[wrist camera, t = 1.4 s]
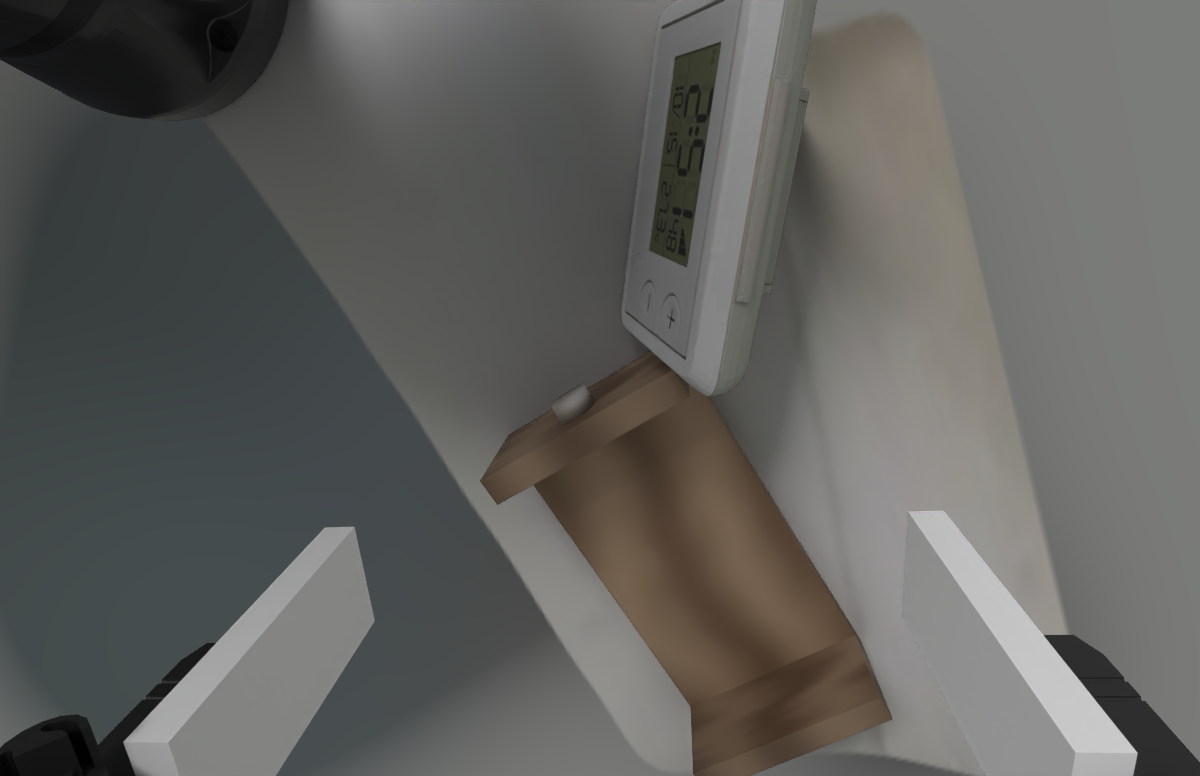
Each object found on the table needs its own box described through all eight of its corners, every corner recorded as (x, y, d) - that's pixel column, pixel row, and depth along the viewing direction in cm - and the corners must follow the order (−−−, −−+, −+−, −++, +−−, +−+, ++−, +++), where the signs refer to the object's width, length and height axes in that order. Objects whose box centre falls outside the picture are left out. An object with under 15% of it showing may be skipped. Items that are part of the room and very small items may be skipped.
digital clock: (672, -16, 32) (672, -104, 22) (854, 47, 32) (939, -12, 22) (570, 308, 37) (532, 360, 27) (727, 362, 37) (748, 433, 27)
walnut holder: (662, 322, 36) (661, 351, 31) (868, 653, 41) (901, 732, 35) (498, 421, 39) (468, 464, 33) (710, 720, 44) (716, 805, 38)
